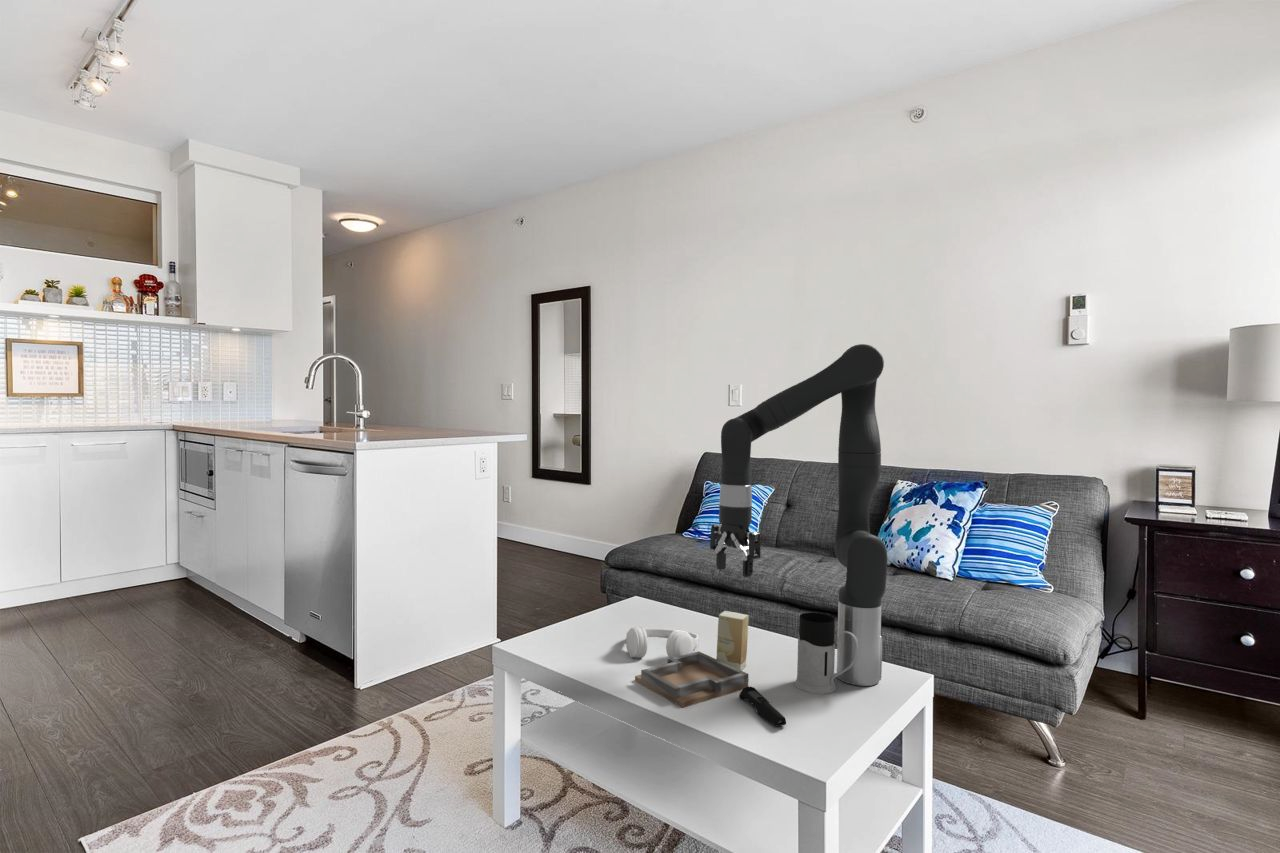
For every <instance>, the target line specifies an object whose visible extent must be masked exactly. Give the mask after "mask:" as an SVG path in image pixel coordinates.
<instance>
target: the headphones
mask: <svg viewBox="0 0 1280 853" xmlns="http://www.w3.org/2000/svg"><path fill="white" fill-rule="evenodd" d="M648 637H649V638H652V637H653V638H655V637H657V638H661V637H662V638H667V639H666V644H665V650H666V651H665V652H666V655H667V657H668V659H670V658H674V657H678V656H682V655H686V654H690V653H694V650H695V648H698V647H699V640H700V639H699V635H698V634H696V633H693V632H690V631H689V632H687V631H684V630H681V629H675V630H673V629H662V628H661V629H656V628H643V627H642V626H639V627H637V626H636V627H631V628H629V630H627V632H626V637H625V638H626V639H625V646H626V650H627V653H628V655H629V656H630V657H631V658H636V659H638V658H639V659H643V658H644V657H645V656H646V655H647V652H648V646H649V644H648V643H649V642H648V640H649V639H648Z"/></svg>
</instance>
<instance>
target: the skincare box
mask: <svg viewBox="0 0 1280 853" xmlns="http://www.w3.org/2000/svg"><path fill="white" fill-rule="evenodd" d="M749 619H750V618H749V614H743V613H740V612H733V611H727V610H724V611H721V612H720V614H718V622H717V641H716V658H715V659H717V660H719V661H721V662H723V663H726V664H728V665H730V666H732V667H734V668H737V669H739V670H741V671H743V669H744V668H746V666H747V658H748V657H747V656H748V655H747V653H748V638H749V637H748V636H749Z"/></svg>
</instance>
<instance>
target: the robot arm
mask: <svg viewBox="0 0 1280 853" xmlns="http://www.w3.org/2000/svg"><path fill="white" fill-rule="evenodd" d="M884 364H885V360H884V356H883V354H882V353H881V351H880V350H879V349H878V348H877V347H875V346H873V345H870V344H867V343H861V344H860V343H859V344H855V345H853V346H850V347H849V348H848V349H846V350H845V352H843V353H842V355H841V356H839V357H838V358H837V359H836V360H834V361H833V362H832V363H831V364H829V365H828V366H826V367H825V368H824V369H822V370H820V371H819V372H817V373H816V374H814V375H812V376H810V377H808V378H806V379H804V380H802V381H800V382H798V383H796V384H794V385H792V386H790V387H788V388H786V389H784V390H782V391H780V392H778V393H776V394H774V395H772V396H770V397H769V398H767V399H766V400H764V401H762V402H761V403H758V405H757V406H755V407H754V408H752V409H751V410H748V411H746V412H744V413H742V414H741V415H738V416H737V417H734V418H731V419H728V420H727V421H726V422H725V423H724V424H723V426H722V428H721V431H720V432H721V433H720V447H721V448H720V449H721V461H722V462H721V468H720V469H721V473H720V474H721V476H720V490H719V504H718V505H719V507H718V522H719V523H720V524H718V523H717V524H712V525H711V526H710V539H709V549H710V550H713V551H714V552H715V553H716V569H717V570H720V571H721V570H722V571H723V570H725V569H726V568H727V567H726V566H727V553H726V551H727V550H728V549H729V548H730V547H732V548H734V549H737V552H738V553H740V554H741V556H742V559H743V560H742V576H743V577H745V578H749V577H751V576H752V575H753V572H754V560H757V559H760V558H761V532H759V531H755V532H753V531H752V532H751V531H750V525H751V524H752V512H753V511H752V510H753V509H752V508H753V506H752V504H753V503H752V502H753V491H752V464H751V454H752V453H751V451H752V442H754V441H756V440H758V439H759V438H761V437H762V436H764V435H766V434H768V433H769V432H773V431H775V430H777V429H779V428H781V427H783V426H785V425H787V424H788V423H790V422H792V421H794V420H795V419H797V418H799V417H802V415H804V414H806V413H808V412H809V411H810V410H812V409H813V408H815V407H817V406H818V405H820V404H822V403H823V402H826V401H827V400H829V399H831V398H833V397H835V396H837V395H839V394H840V395H841V415H840V422H839V433H838V449H837V450H838V451H837V452H838V454H837V456H838V458H837V460H838V462H837V464H838V466H837V469H838V470H837V473H838V490H837V492H838V512H837V523H836V531H835V538H834V539H835V540H834V552H835V553H834V554H835V556H836V558H837V561H838V562H839V563H840V564H841V565H842V566H843V567H845V568H846V576H845V584H844V585H843V586H841V587H840V588H839V590H838V604H837V607H838V608H837V609H838V610H837V638H838V637H839V635H840V634H841V633H842V632H845V631H848V632H851V633H852V634H854V636H855V637H856V638H857V641H858V653H857V657H856V659H855V661H854V663H853V665H852V667H851V668H849V669H848V670H847V671H845V672H844V673H842V674H840V675H838V676H837V677H836V678H838V680H841V681H842V682H844V683H846V684H851V685H854V686H862V687H868V686H869V687H870V686H875V685H878V684H879V683H880V679H882V672H883V671H882V669H883V667H882V666H883V665H882V664H883V636H881V632H882V629H881V628H882V600H883V596H884V594H885V591H886V587H887V574H888V553H887V552H888V551H887V548H886V545H885V543H884V542H883V540H882V539H880V537H878V536H877V535H874V534H872V533H871V531H870V530H871V529H870V528H871V527H870V508H871V502H872V499H873V498H874V495H875V493H876V490H877V487H878V485H879V484H878V483H879V481H880V477H881V472H882V471H881V470H882V469H881V468H882V448H881V447H882V446H881V445H882V444H881V437H880V430H879V424H878V420H877V413H876V392H877V383H878V382H877V381H878V378H880V377H881V375H882V373H883V370H884V367H885V365H884ZM836 643H837V645H838V639H837V642H836ZM854 654H855V641H854V638H853V637H852V636H851V635H849V634H847V633H845V634H843V635H842V637H841V641H840V647H839V648H837V649H836V674H838V673H840V672H841V671H843V670H844V669H846V668H847V667H848V666H849V665H850V663H851V662H852V660H853V658H854Z"/></svg>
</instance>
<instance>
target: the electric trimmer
mask: <svg viewBox="0 0 1280 853" xmlns="http://www.w3.org/2000/svg"><path fill="white" fill-rule="evenodd" d="M739 692H740V693H739V694H738V696H739V700H745V701H746V702H747V704H749V705H750V706H751V707H753V709H755V710H756V714H757V715H758V716H759V717H760V718H762V719H764V720H765V721H766V722H768V723H770V724H771V725H772V726H775V727H777V726H778V727H780V726H785V725H786V724H787V720H786V718H785V716H784V715H783V714H782V713H780V712H779V711H778V710H777V709H776V707H774V706H773V705H772V704H771V703H770V702H769V701H768V699H767V698H766V697H764V696H763V694H761V693H760V691H758V690H757V689H756V688H755V687H754V686H748V687H745V688H744V689H742V690H740V691H739Z"/></svg>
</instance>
